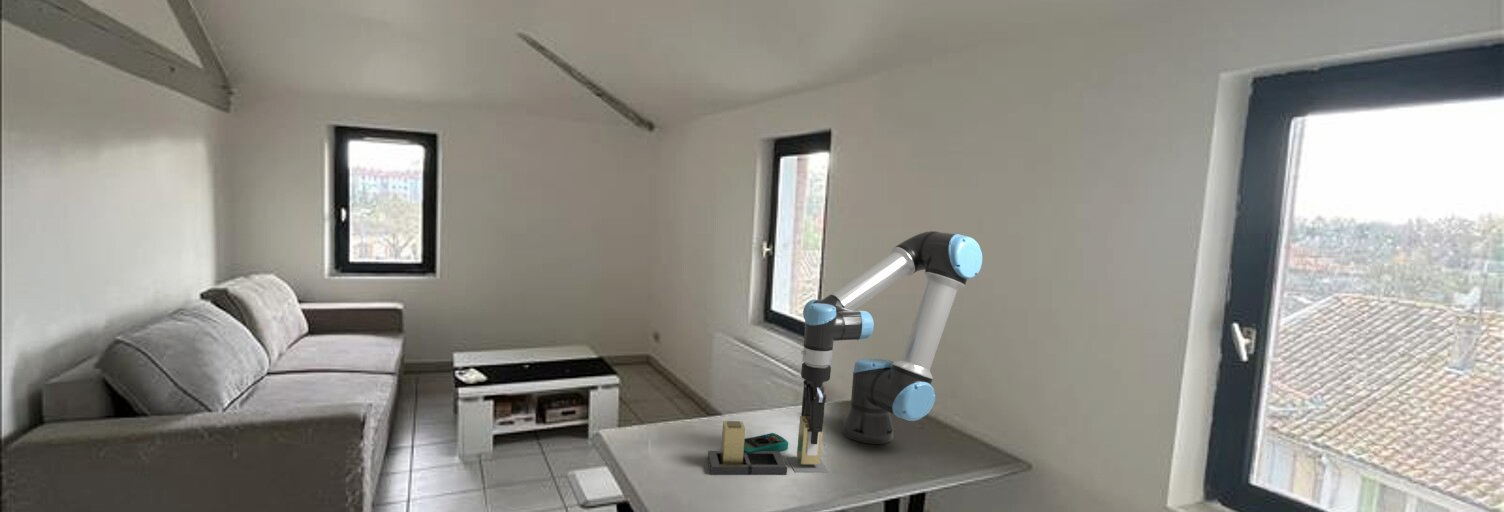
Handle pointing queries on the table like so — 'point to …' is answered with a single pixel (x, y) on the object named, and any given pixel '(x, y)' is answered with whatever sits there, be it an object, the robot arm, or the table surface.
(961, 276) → the robot arm
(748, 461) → the dark grey block holder
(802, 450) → the tan rectangular block
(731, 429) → the gold rectangular block
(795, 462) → the mat
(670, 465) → the table surface
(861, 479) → the table surface
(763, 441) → the digital multimeter
